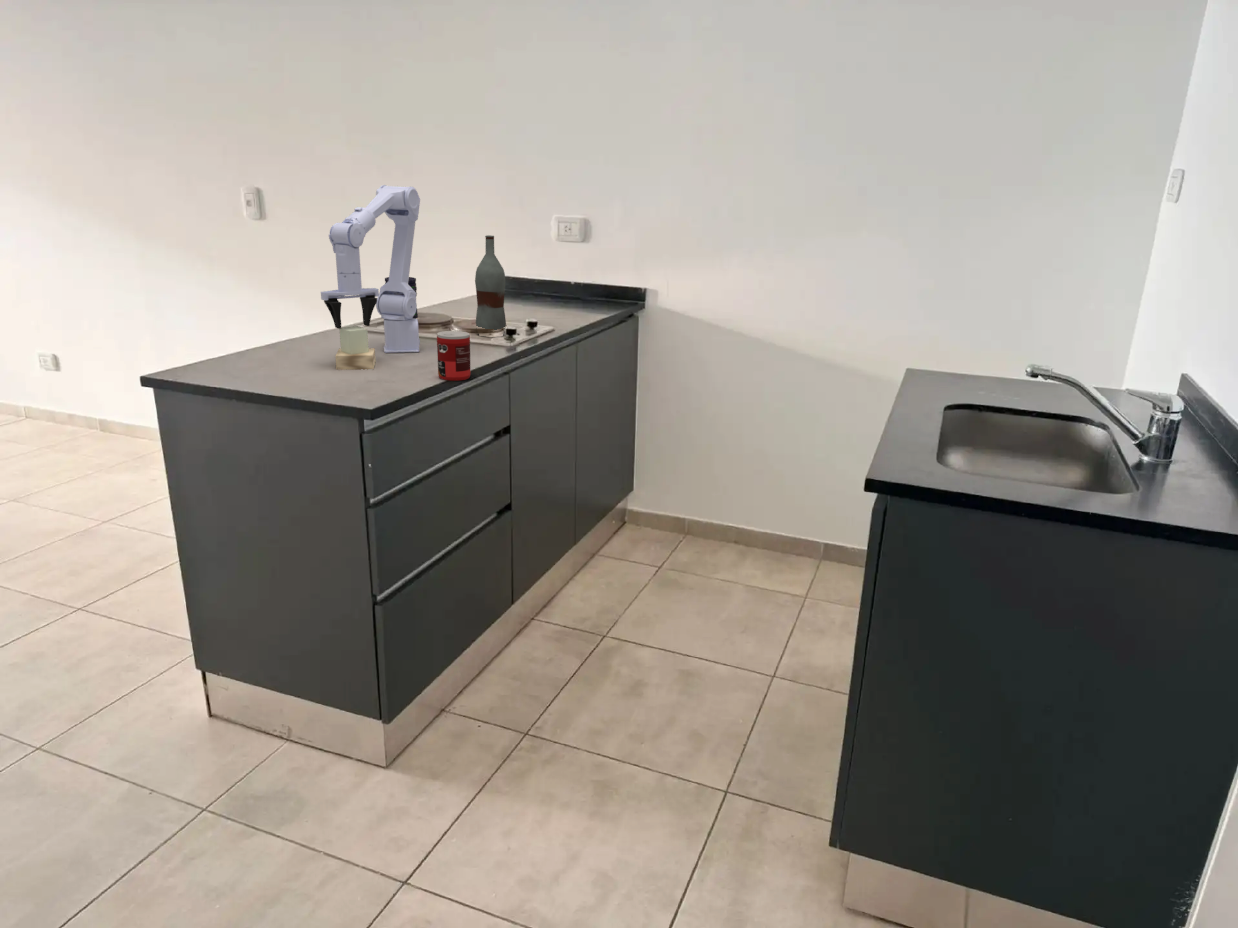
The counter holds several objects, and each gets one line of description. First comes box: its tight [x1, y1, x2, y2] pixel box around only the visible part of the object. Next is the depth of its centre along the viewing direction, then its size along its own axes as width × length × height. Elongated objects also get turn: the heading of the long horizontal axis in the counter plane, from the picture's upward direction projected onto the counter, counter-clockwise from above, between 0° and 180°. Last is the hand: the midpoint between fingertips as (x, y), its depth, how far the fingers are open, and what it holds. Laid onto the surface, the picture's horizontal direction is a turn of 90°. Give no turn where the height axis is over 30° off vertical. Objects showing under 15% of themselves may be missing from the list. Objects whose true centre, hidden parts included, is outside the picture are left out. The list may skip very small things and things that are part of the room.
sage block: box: [339, 325, 369, 355], centre depth 216 cm, size 5×5×6 cm
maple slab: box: [334, 347, 377, 371], centre depth 218 cm, size 9×9×4 cm
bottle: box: [474, 234, 507, 330], centre depth 259 cm, size 9×9×30 cm
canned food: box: [436, 330, 471, 382], centre depth 209 cm, size 8×8×11 cm
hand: (352, 326), depth 216 cm, fingers open, 7 cm apart
